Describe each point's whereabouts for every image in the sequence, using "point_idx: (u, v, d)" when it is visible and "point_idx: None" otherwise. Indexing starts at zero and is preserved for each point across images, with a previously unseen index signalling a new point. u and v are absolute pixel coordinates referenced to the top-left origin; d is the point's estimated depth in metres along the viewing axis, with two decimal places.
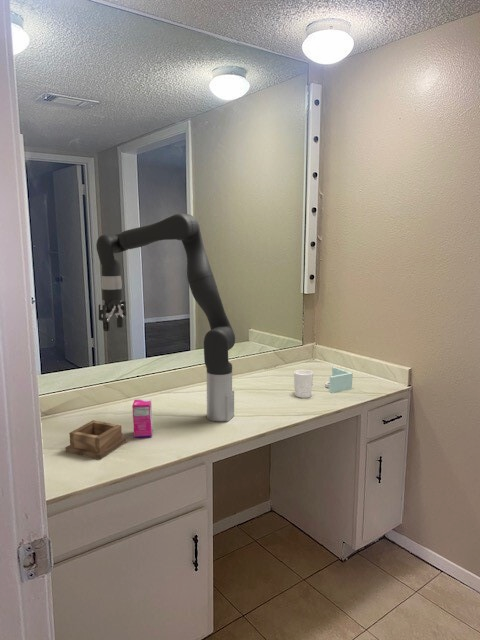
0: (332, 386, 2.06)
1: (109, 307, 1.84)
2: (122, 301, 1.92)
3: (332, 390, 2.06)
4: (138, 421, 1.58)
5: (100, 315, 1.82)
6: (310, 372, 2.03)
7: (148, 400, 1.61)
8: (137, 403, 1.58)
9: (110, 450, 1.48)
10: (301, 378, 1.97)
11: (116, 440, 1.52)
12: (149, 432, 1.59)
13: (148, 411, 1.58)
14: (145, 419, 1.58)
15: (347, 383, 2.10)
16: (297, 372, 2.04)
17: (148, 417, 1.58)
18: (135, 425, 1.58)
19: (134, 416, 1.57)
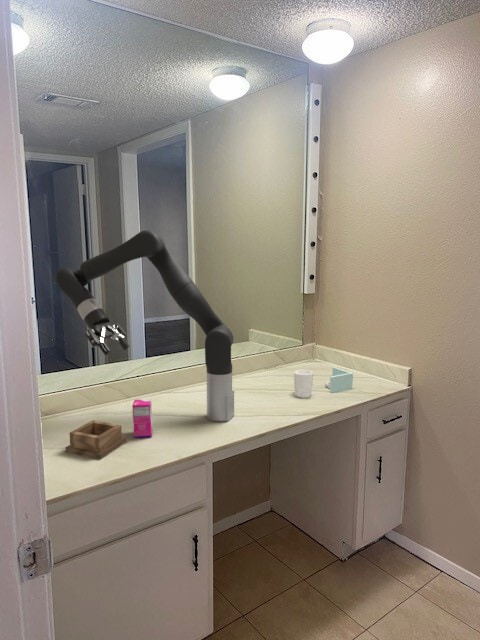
0: (332, 386, 2.06)
1: (97, 330, 1.64)
2: (115, 324, 1.72)
3: (332, 390, 2.06)
4: (138, 421, 1.58)
5: (92, 341, 1.61)
6: (310, 372, 2.03)
7: (148, 400, 1.61)
8: (137, 403, 1.58)
9: (110, 450, 1.48)
10: (301, 378, 1.97)
11: (116, 440, 1.52)
12: (149, 432, 1.59)
13: (148, 411, 1.58)
14: (145, 419, 1.58)
15: (347, 383, 2.10)
16: (297, 372, 2.04)
17: (148, 417, 1.58)
18: (135, 425, 1.58)
19: (134, 416, 1.57)
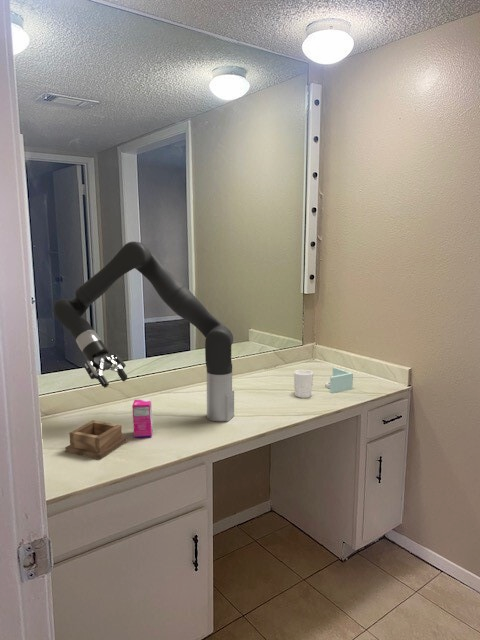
0: (333, 386, 2.05)
1: (96, 362, 1.64)
2: (113, 355, 1.72)
3: (333, 390, 2.06)
4: (138, 421, 1.58)
5: (90, 374, 1.62)
6: (310, 372, 2.03)
7: (148, 400, 1.61)
8: (137, 403, 1.58)
9: (110, 450, 1.48)
10: (301, 378, 1.97)
11: (116, 440, 1.52)
12: (149, 432, 1.59)
13: (148, 411, 1.58)
14: (145, 419, 1.58)
15: (348, 383, 2.10)
16: (297, 372, 2.04)
17: (148, 417, 1.58)
18: (135, 425, 1.58)
19: (134, 416, 1.57)
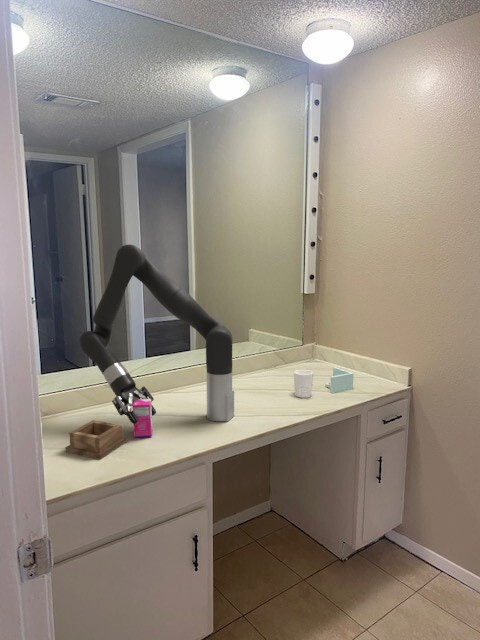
0: (333, 386, 2.05)
1: (124, 397, 1.59)
2: (141, 388, 1.67)
3: (333, 390, 2.06)
4: (138, 421, 1.58)
5: (119, 409, 1.57)
6: (310, 372, 2.03)
7: (148, 400, 1.61)
8: (137, 403, 1.58)
9: (110, 450, 1.48)
10: (301, 378, 1.97)
11: (116, 440, 1.52)
12: (149, 432, 1.59)
13: (148, 411, 1.58)
14: (145, 419, 1.58)
15: (348, 383, 2.10)
16: (297, 372, 2.04)
17: (148, 417, 1.58)
18: (135, 425, 1.58)
19: None
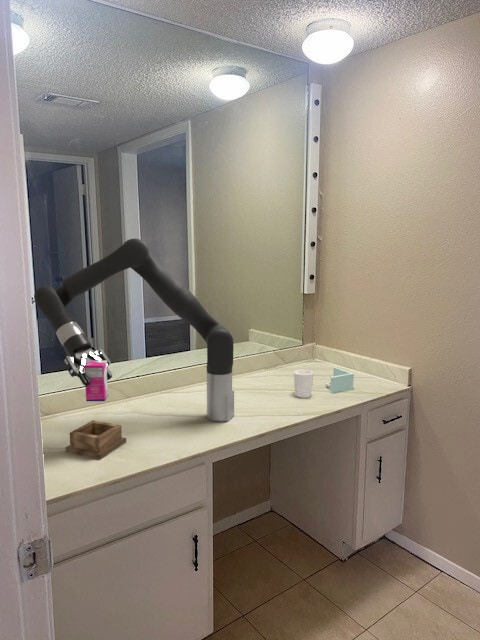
0: (333, 386, 2.05)
1: (77, 358, 1.48)
2: (98, 350, 1.56)
3: (333, 390, 2.06)
4: None
5: (70, 370, 1.45)
6: (310, 372, 2.03)
7: (103, 361, 1.50)
8: (90, 364, 1.47)
9: (110, 450, 1.48)
10: (301, 378, 1.97)
11: (116, 440, 1.52)
12: (102, 395, 1.48)
13: (101, 373, 1.46)
14: (99, 381, 1.47)
15: (348, 383, 2.09)
16: (297, 372, 2.04)
17: (101, 378, 1.47)
18: (87, 387, 1.47)
19: None
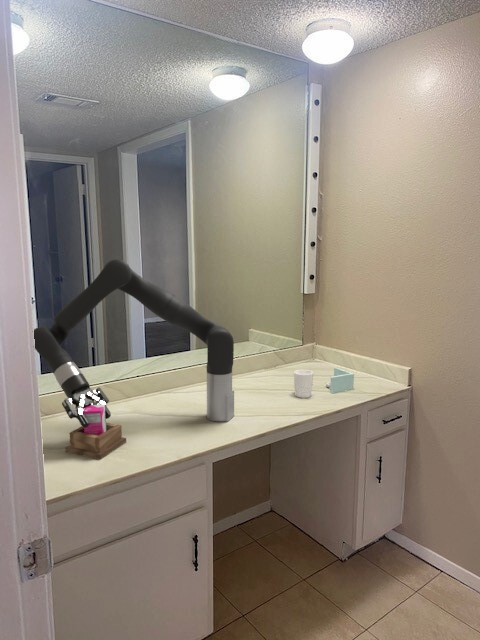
0: (333, 386, 2.05)
1: (76, 399, 1.48)
2: (96, 389, 1.57)
3: (333, 390, 2.05)
4: (89, 428, 1.48)
5: (69, 412, 1.46)
6: (310, 372, 2.03)
7: (101, 406, 1.51)
8: (88, 409, 1.48)
9: (110, 450, 1.48)
10: (301, 378, 1.97)
11: (116, 440, 1.52)
12: None
13: (99, 418, 1.47)
14: (97, 426, 1.48)
15: (348, 383, 2.09)
16: (297, 372, 2.04)
17: (99, 424, 1.48)
18: (86, 433, 1.48)
19: None
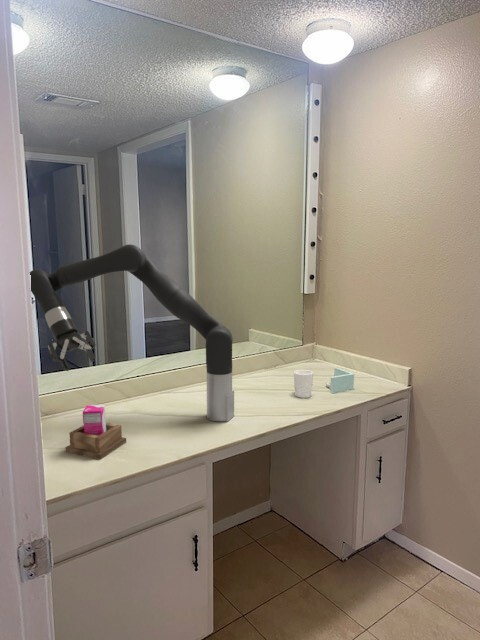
0: (333, 386, 2.05)
1: (60, 343, 1.58)
2: None
3: (333, 390, 2.05)
4: (89, 428, 1.48)
5: (53, 356, 1.57)
6: (310, 372, 2.03)
7: (101, 406, 1.51)
8: (88, 409, 1.48)
9: (110, 450, 1.48)
10: (301, 378, 1.97)
11: (116, 440, 1.52)
12: None
13: (99, 418, 1.47)
14: (97, 426, 1.48)
15: (348, 384, 2.09)
16: (297, 372, 2.04)
17: (99, 424, 1.48)
18: (86, 433, 1.48)
19: (85, 423, 1.47)
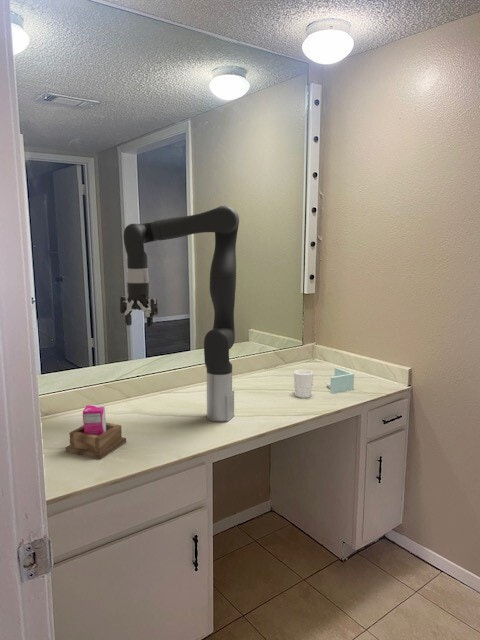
0: (333, 386, 2.05)
1: (128, 301, 1.73)
2: (151, 299, 1.70)
3: (333, 390, 2.05)
4: (89, 428, 1.48)
5: (124, 307, 1.77)
6: (310, 372, 2.03)
7: (101, 406, 1.51)
8: (88, 409, 1.48)
9: (110, 450, 1.48)
10: (301, 378, 1.97)
11: (116, 440, 1.52)
12: None
13: (99, 418, 1.47)
14: (97, 426, 1.48)
15: (348, 384, 2.09)
16: (297, 372, 2.04)
17: (99, 424, 1.48)
18: (86, 433, 1.48)
19: (85, 423, 1.47)
